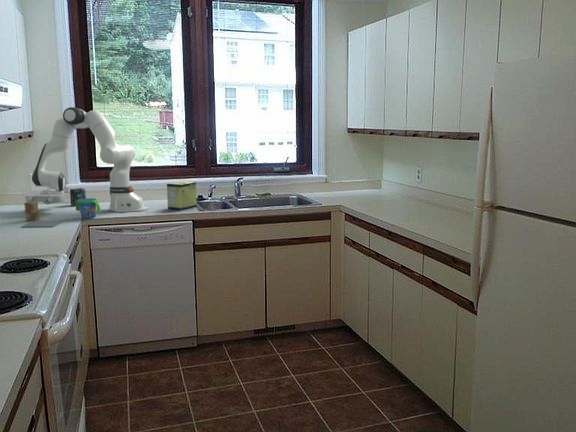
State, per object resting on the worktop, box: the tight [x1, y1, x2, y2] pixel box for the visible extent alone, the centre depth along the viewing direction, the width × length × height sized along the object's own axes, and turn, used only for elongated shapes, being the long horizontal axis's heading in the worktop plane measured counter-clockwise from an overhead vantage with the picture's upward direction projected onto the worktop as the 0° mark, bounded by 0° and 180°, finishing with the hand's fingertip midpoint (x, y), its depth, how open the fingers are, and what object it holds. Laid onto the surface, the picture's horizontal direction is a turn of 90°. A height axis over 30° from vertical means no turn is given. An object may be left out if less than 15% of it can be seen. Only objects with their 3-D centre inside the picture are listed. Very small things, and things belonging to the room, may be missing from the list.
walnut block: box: [23, 201, 40, 223], centre depth 305 cm, size 5×5×10 cm
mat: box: [21, 220, 63, 229], centre depth 295 cm, size 16×14×1 cm
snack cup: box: [75, 197, 101, 219], centre depth 313 cm, size 16×10×10 cm
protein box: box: [166, 180, 198, 211], centre depth 343 cm, size 10×16×16 cm
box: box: [69, 187, 87, 208], centre depth 354 cm, size 8×6×11 cm
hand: (39, 200), depth 317 cm, fingers open, 8 cm apart
